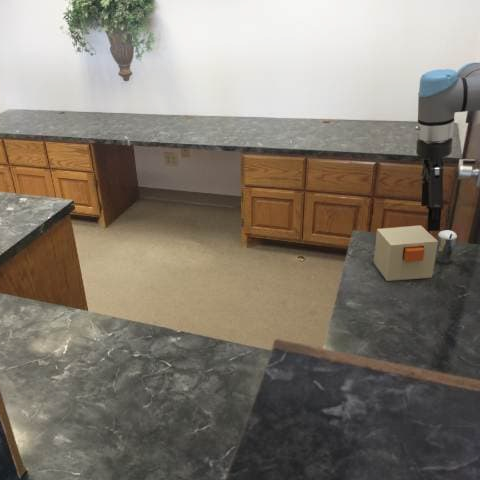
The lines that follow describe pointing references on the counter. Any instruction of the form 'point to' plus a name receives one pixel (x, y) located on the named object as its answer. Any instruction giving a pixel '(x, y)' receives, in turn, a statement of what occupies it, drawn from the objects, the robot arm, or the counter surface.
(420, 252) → the orange block
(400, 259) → the beige box with handle
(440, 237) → the milkshake
